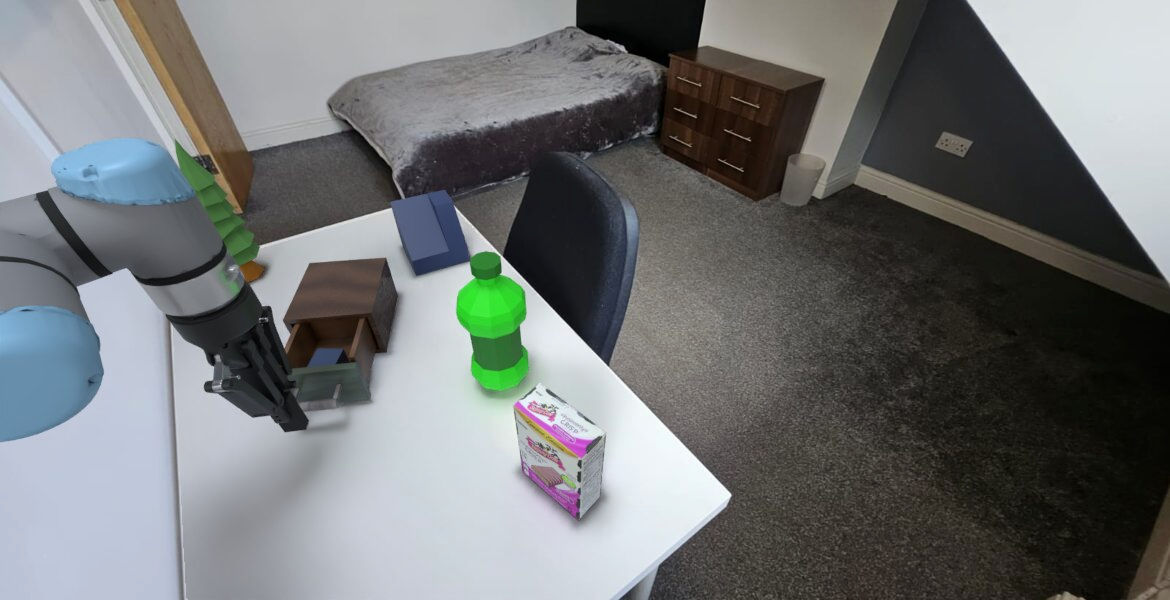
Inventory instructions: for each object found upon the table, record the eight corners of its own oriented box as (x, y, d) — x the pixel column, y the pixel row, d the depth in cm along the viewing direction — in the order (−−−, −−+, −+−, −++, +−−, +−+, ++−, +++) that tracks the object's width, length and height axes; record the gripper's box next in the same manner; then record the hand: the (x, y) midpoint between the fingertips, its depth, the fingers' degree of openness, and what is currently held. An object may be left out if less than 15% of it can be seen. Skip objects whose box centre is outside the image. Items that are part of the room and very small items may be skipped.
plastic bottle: (524, 406, 76) (512, 288, 60) (462, 396, 77) (433, 277, 61) (539, 360, 84) (532, 244, 67) (482, 352, 85) (461, 236, 68)
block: (315, 384, 76) (306, 367, 73) (326, 365, 79) (317, 348, 76) (341, 385, 76) (333, 368, 73) (351, 365, 79) (343, 348, 76)
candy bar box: (519, 473, 67) (510, 404, 57) (544, 449, 70) (539, 379, 60) (578, 524, 62) (580, 459, 51) (602, 497, 65) (608, 429, 54)
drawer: (365, 422, 72) (349, 390, 67) (277, 432, 71) (254, 400, 65) (384, 335, 86) (372, 303, 81) (311, 342, 85) (294, 310, 79)
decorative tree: (265, 285, 98) (188, 146, 78) (213, 293, 95) (121, 152, 76) (273, 258, 105) (204, 124, 85) (225, 265, 102) (142, 129, 83)
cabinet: (386, 352, 84) (371, 312, 78) (304, 360, 83) (282, 320, 76) (398, 296, 96) (386, 257, 90) (327, 302, 94) (309, 262, 88)
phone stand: (416, 276, 101) (403, 228, 93) (403, 247, 109) (389, 201, 101) (469, 260, 106) (461, 214, 98) (453, 234, 114) (444, 189, 106)
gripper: (219, 336, 44) (313, 466, 59) (267, 254, 53) (337, 385, 69) (129, 345, 43) (249, 475, 58) (195, 260, 52) (282, 391, 68)
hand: (297, 426), depth 64 cm, fingers closed
